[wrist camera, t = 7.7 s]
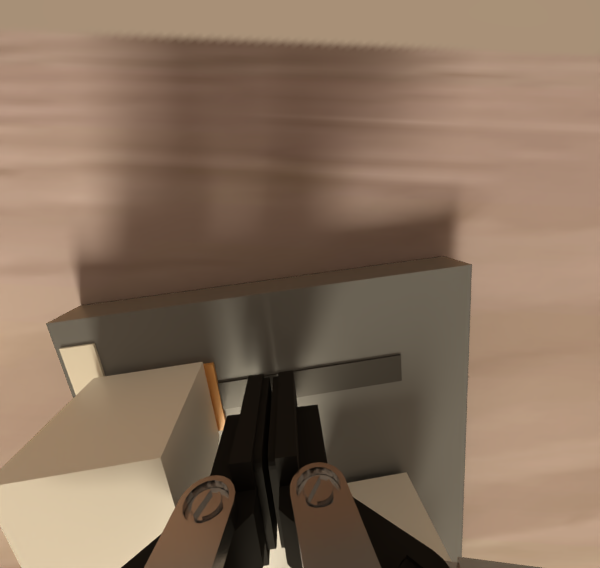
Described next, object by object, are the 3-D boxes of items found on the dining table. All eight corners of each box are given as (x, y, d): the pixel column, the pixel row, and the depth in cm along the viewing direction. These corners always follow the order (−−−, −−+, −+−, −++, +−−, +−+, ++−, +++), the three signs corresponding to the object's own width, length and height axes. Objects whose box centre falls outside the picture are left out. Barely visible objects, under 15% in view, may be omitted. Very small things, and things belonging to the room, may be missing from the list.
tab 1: (202, 361, 11) (160, 458, 7) (219, 437, 12) (191, 564, 8) (93, 378, 11) (-19, 488, 7) (119, 454, 12) (34, 594, 8)
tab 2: (406, 472, 14) (469, 596, 9) (408, 529, 15) (466, 666, 10) (320, 487, 13) (343, 622, 9) (327, 544, 14) (351, 691, 10)
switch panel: (443, 256, 14) (475, 265, 12) (440, 590, 19) (460, 637, 17) (80, 305, 13) (41, 325, 11) (190, 641, 18) (180, 697, 16)
